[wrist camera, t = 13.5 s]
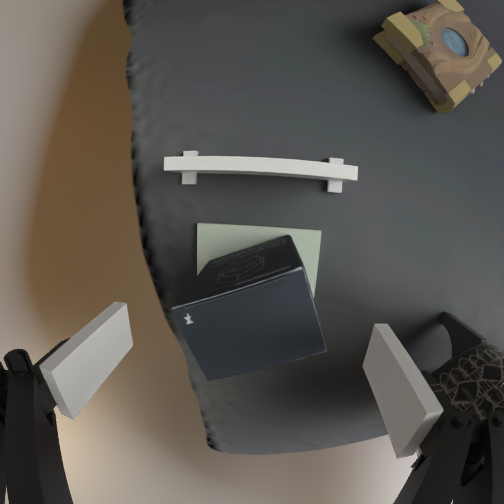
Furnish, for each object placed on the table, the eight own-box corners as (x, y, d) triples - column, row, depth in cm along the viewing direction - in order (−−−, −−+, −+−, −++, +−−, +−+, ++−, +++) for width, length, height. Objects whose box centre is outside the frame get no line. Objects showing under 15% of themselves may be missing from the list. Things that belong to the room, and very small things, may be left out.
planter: (410, 294, 25) (518, 398, 7) (479, 315, 25) (565, 388, 7) (360, 389, 28) (400, 513, 10) (433, 395, 28) (484, 484, 10)
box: (229, 313, 26) (205, 383, 16) (208, 259, 25) (166, 306, 15) (309, 290, 25) (329, 354, 15) (291, 232, 24) (304, 265, 14)
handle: (185, 151, 23) (165, 144, 18) (341, 159, 22) (358, 153, 18) (184, 184, 24) (163, 183, 19) (339, 192, 23) (356, 194, 18)
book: (435, 8, 16) (452, -9, 12) (490, 74, 18) (512, 65, 13) (370, 40, 19) (386, 17, 15) (439, 121, 21) (465, 112, 16)
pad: (198, 222, 25) (197, 223, 24) (320, 230, 24) (321, 231, 24) (198, 313, 27) (197, 314, 26) (309, 321, 26) (310, 323, 26)
